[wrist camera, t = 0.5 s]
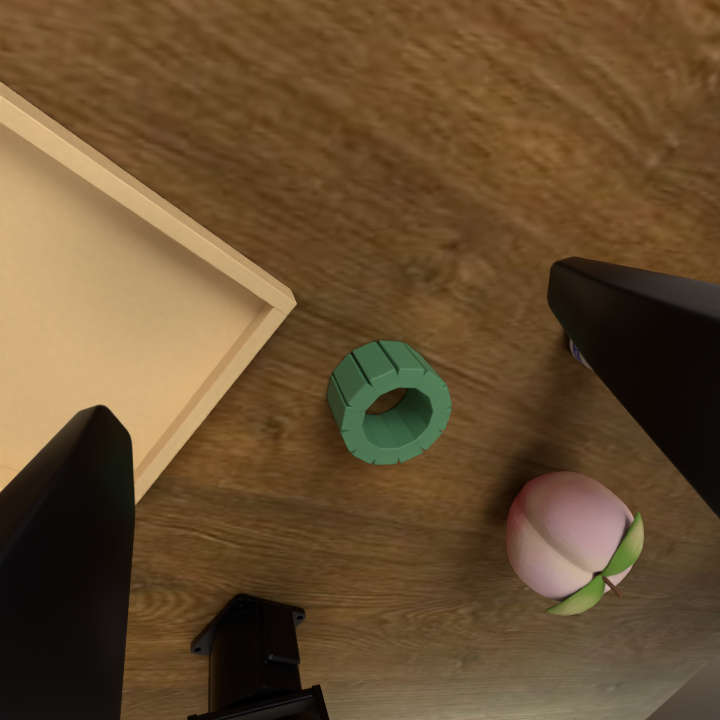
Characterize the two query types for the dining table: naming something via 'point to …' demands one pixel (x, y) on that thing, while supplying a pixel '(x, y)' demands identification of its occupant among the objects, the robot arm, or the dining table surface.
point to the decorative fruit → (571, 539)
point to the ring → (396, 426)
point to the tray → (112, 300)
